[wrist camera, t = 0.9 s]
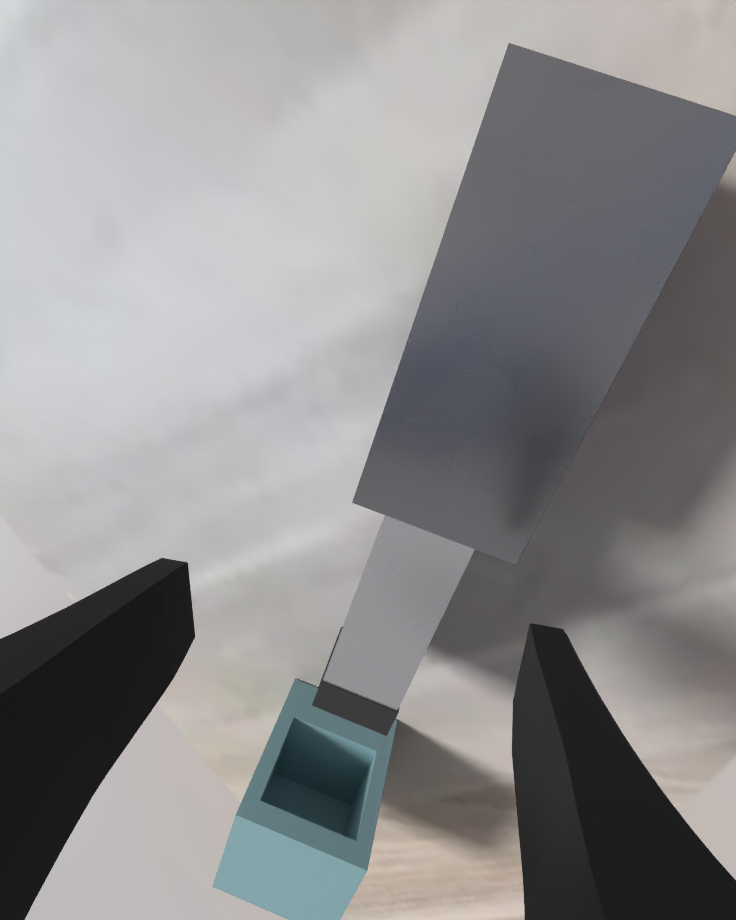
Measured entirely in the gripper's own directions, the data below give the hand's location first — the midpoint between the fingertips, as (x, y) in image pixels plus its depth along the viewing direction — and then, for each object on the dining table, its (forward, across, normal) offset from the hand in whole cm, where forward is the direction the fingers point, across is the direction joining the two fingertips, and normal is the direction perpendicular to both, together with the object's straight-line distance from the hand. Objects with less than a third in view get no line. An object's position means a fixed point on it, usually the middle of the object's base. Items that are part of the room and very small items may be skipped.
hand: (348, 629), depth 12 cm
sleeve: (+9, -3, -5) cm, 11 cm away
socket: (+9, +3, +15) cm, 18 cm away
